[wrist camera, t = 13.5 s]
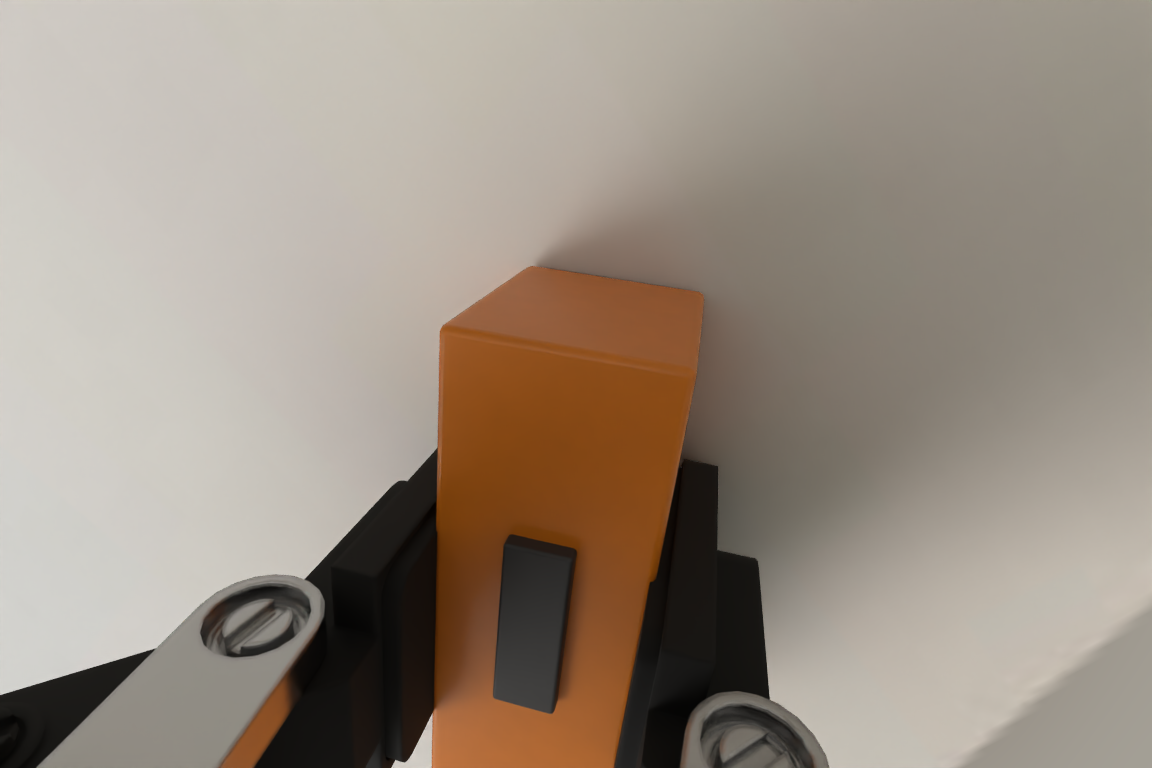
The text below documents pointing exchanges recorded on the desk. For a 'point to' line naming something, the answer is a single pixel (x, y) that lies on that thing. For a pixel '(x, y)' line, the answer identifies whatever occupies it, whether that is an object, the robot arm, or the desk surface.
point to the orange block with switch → (552, 510)
